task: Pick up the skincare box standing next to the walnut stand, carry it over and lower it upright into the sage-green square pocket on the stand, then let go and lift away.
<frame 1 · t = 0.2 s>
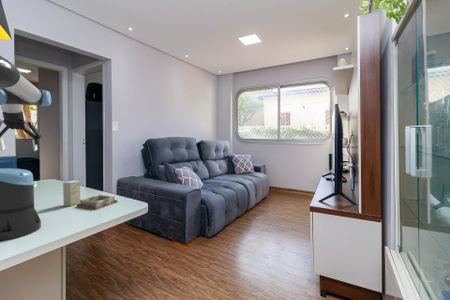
hand: (19, 150, 117), 28 cm above the counter, tool tilted 20°, fingers open, 13 cm apart
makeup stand: (97, 204, 113), on the counter
skincare box: (72, 204, 113), on the counter
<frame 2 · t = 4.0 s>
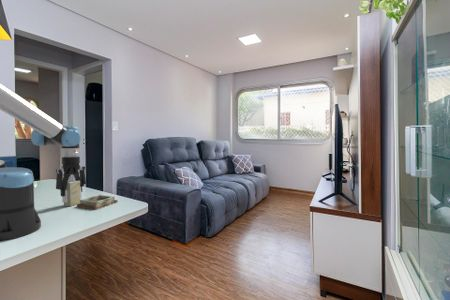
hand: (72, 200, 113), 2 cm above the counter, tool pointing down, fingers closed on skincare box, 7 cm apart
skincare box: (72, 204, 113), on the counter, touching gripper
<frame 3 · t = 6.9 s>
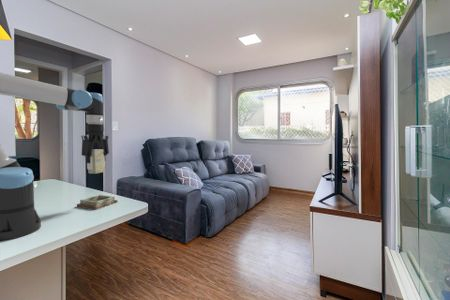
hand: (96, 168, 112), 19 cm above the counter, tool pointing down, fingers closed on skincare box, 6 cm apart
skincare box: (96, 173, 113), point 17 cm above the counter, touching gripper
when the fingers open (5 cm above the counter, at t = 9.7 s): skincare box drops 1 cm, resting on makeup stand.
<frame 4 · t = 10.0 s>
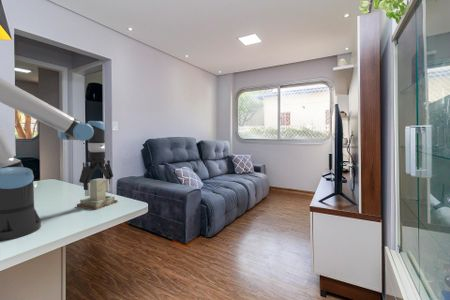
hand: (97, 193, 113), 6 cm above the counter, tool pointing down, fingers open, 10 cm apart
skincare box: (98, 202, 114), point 1 cm above the counter, touching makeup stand
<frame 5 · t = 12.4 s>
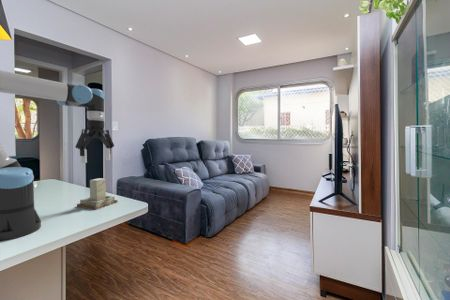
hand: (96, 161, 112), 23 cm above the counter, tool pointing down, fingers open, 13 cm apart
nothing on the counter moved.
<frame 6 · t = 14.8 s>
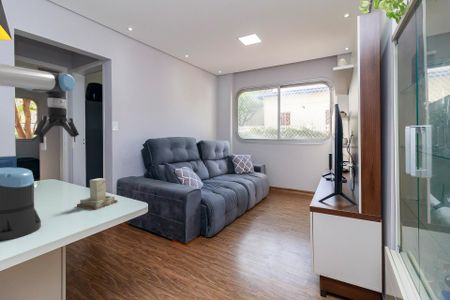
hand: (58, 149, 111), 29 cm above the counter, tool pointing down, fingers open, 13 cm apart
nothing on the counter moved.
at the end: skincare box 0.2 cm off-centre on the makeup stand, point 1.0 cm above the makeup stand's base; skincare box tilted 0°; the gripper is holding nothing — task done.
